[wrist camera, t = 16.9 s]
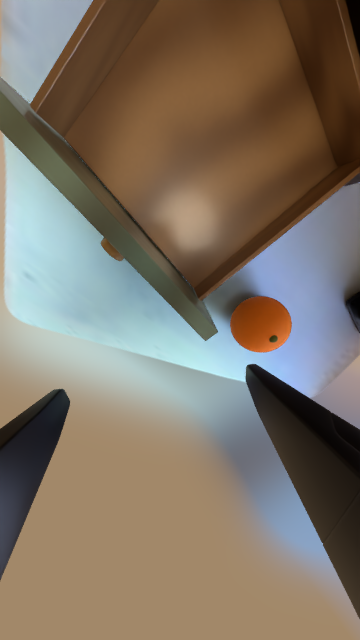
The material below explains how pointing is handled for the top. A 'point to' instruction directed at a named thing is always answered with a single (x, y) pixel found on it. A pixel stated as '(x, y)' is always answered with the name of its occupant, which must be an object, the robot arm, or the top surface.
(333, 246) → the top surface
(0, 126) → the drawer
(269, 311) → the orange
